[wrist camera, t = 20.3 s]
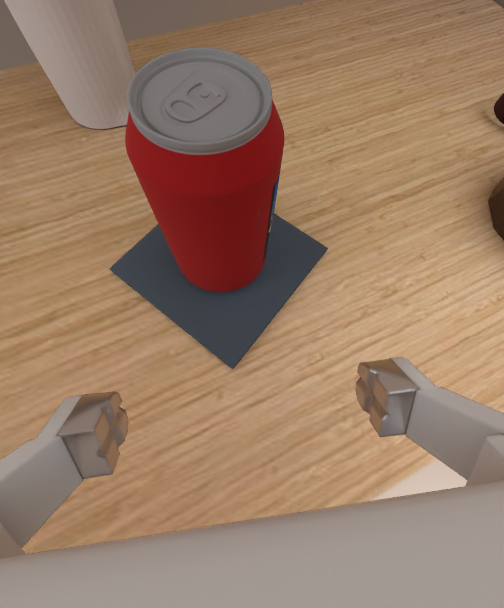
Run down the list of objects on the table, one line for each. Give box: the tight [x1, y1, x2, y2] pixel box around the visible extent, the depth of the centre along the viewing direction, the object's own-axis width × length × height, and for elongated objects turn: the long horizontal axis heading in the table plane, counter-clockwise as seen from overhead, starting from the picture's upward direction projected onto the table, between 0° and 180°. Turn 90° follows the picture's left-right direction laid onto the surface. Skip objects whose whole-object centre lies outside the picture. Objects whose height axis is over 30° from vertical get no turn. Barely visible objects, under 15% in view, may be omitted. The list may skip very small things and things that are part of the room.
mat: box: [110, 214, 328, 369], centre depth 22 cm, size 12×12×1 cm
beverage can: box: [125, 48, 284, 292], centre depth 16 cm, size 7×7×12 cm
